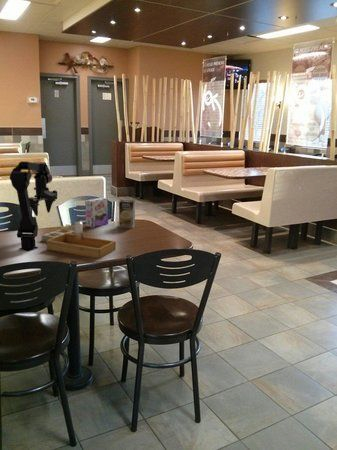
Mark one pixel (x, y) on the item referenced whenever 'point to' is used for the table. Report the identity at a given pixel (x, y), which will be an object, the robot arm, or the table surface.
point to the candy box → (96, 212)
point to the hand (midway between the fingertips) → (42, 214)
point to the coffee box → (127, 213)
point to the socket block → (55, 234)
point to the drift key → (65, 229)
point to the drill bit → (78, 231)
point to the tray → (81, 246)
